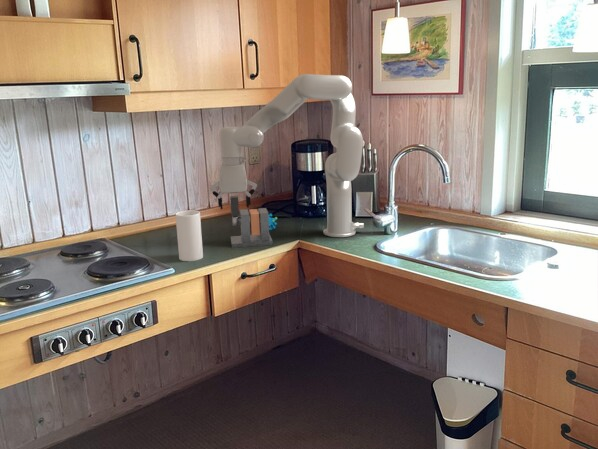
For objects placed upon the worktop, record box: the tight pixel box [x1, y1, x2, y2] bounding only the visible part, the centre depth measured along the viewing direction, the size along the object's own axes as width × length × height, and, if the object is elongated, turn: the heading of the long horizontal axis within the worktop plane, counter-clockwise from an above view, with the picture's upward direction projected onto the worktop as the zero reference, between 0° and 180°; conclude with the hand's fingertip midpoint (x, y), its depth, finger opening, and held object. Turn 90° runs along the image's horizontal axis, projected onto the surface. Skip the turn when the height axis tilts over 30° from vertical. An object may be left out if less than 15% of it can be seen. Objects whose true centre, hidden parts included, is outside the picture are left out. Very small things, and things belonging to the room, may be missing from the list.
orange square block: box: [248, 208, 260, 235], centre depth 207 cm, size 3×8×8 cm, turn 9°
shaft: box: [229, 195, 260, 227], centre depth 205 cm, size 12×4×11 cm, turn 99°
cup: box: [175, 209, 204, 262], centre depth 191 cm, size 8×8×16 cm
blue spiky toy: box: [269, 213, 278, 232], centre depth 227 cm, size 11×6×10 cm
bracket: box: [230, 207, 274, 249], centre depth 207 cm, size 15×10×12 cm, turn 99°
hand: (234, 207), depth 204 cm, fingers open, 9 cm apart
